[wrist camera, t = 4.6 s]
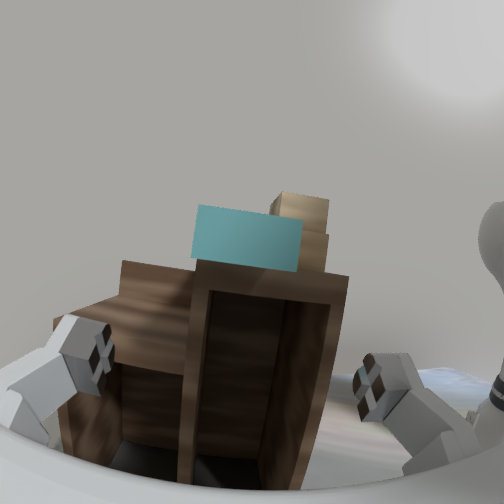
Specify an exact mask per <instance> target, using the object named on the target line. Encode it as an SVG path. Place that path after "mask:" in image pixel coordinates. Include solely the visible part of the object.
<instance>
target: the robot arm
mask: <svg viewBox="0 0 504 504" xmlns="http://www.w3.org/2000/svg"><path fill="white" fill-rule="evenodd" d="M478 240H479V241H478V242H479V250H480V254H481V257H482V260H483V262H484V264H485V266H486V267H487V269H488V270H489V271H490V272H491V273H492V274H493V276H494V277H495V278H496V280H497V281H498V283H499V284H500V286H501V288H502V291H503V293H504V202H496V203H494V204H493V205H492V206H491V207H490V208H489V209H488V210H487V212H486V213H485V215H484V217H483V219H482V222H481V224H480V229H479V237H478ZM111 334H112V330H111V326H110V325H109V324H107V323H103V322H99V321H95V320H91V319H87V318H84V317H79V316H75V315H71V314H66V315H64V316H63V318H62V319H61V321H60V322H59V324H58V326H57V327H56V329H55V330H54V332H53V334H52V335H51V337H50V339H49V340H48V342H47V344H46V345H45V347H44V348H42V347H40V348H38V349H36V350H34V351H32V352H30V353H29V354H27V355H25V356H23V357H21V358H20V359H18V360H16V361H14V362H12V363H11V364H9V365H7V366H6V367H4V368H2V369H0V504H504V359H503V364H502V368H501V371H500V374H499V375H498V376H497V377H496V380H495V381H494V383H493V385H492V389H491V392H490V394H489V397H488V398H487V399H486V400H485V401H483V402H482V403H481V404H479V406H478V408H477V411H476V412H474V411H468V414H467V417H466V419H465V418H463V417H462V416H461V415H460V414H459V413H457V412H456V411H455V410H454V409H452V408H451V407H450V406H449V405H448V404H446V403H445V402H444V401H443V400H442V399H440V398H439V397H438V396H437V395H436V394H434V393H433V392H432V391H431V390H430V389H428V388H424V386H423V383H422V381H421V379H420V377H419V374H418V372H417V370H416V368H415V366H414V363H413V361H412V359H411V357H410V355H409V354H408V353H369V354H367V355H366V356H365V358H364V359H363V363H364V366H362V367H361V368H359V369H358V370H357V371H356V373H355V375H354V379H353V392H354V396H355V397H356V398H358V399H359V400H360V402H359V404H358V406H357V407H358V411H359V415H360V419H361V422H372V421H383V423H384V424H385V426H386V427H387V428H388V429H389V430H390V431H391V433H392V434H393V435H394V436H395V437H396V438H397V439H398V441H399V442H400V443H401V444H402V445H403V446H404V448H405V449H406V450H407V451H408V452H409V453H410V455H411V456H412V457H413V458H411V459H410V460H409V461H408V462H406V463H405V464H404V465H403V467H402V470H403V474H404V476H402V477H398V478H393V479H388V480H383V481H377V482H371V483H365V484H358V485H351V486H343V487H333V488H322V489H307V490H240V489H225V488H214V487H205V486H196V485H189V484H182V483H176V482H170V481H164V480H159V479H153V478H149V477H144V476H139V475H135V474H131V473H127V472H123V471H119V470H115V469H112V468H108V467H105V466H101V465H98V464H95V463H91V462H88V461H85V460H82V459H79V458H76V457H73V456H71V455H68V454H65V453H63V452H60V451H57V450H55V449H52V448H50V447H47V445H48V442H49V439H50V436H49V434H48V432H47V431H46V430H45V428H44V427H43V426H42V425H41V422H42V421H43V420H44V419H46V418H47V417H48V416H49V415H50V414H52V413H53V412H54V411H55V410H56V409H58V408H59V407H60V406H61V405H63V404H64V403H65V402H66V401H67V400H69V399H70V398H71V397H72V396H73V395H75V394H76V393H77V391H80V392H84V393H88V394H91V395H95V396H100V397H101V395H102V393H103V390H104V387H105V385H106V382H107V379H106V376H105V374H106V373H107V372H109V371H110V370H111V369H112V366H113V363H114V358H115V346H114V342H113V341H112V340H111V339H110V336H111Z"/></svg>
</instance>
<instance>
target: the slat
mask: <svg viewBox="0 0 504 504" xmlns="http://www.w3.org/2000/svg"><path fill="white" fill-rule="evenodd" d="M302 228H303V220H299V219H293V218H287V217H280V216H274V215H268V214H261V213H255V212H248V211H241V210H234V209H227V208H220V207H213V206H205V205H199V206H198V212H197V219H196V225H195V232H194V239H193V245H192V252H191V258H197V259H204V260H211V261H218V262H225V263H232V264H239V265H246V266H253V267H261V268H268V269H275V270H283V271H290V272H297V265H298V258H299V251H300V243H301V236H302Z"/></svg>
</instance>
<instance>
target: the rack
mask: <svg viewBox="0 0 504 504" xmlns="http://www.w3.org/2000/svg"><path fill="white" fill-rule="evenodd" d="M328 207H329V200H328V199H322V198H317V197H312V196H306V195H300V194H295V193H289V192H283V191H282V192H281V194H280V195H279V196H278V197H277V198H276V199H275V200H274V202H273V203H272V204H271V205H270V212H269V215H274V216H280V217H287V218H293V219H299V220H303V228H302V236H301V243H300V251H299V258H298V265H297V272H290V271H283V270H275V269H268V268H261V267H253V266H246V265H239V264H232V263H225V262H218V261H211V260H204V259H197V263H196V270H195V271H190V270H184V269H177V268H171V267H164V266H157V265H151V264H144V263H138V262H132V261H126V260H123V261H122V267H121V276H120V286H119V295H117V296H115V297H112V298H109V299H106V300H104V301H101V302H98V303H96V304H93V305H90V306H87V307H85V308H82V309H79V310H77V311H74V312H71V313H69V314H71V315H75V316H79V317H84V318H87V319H91V320H95V321H99V322H103V323H107V324H109V325H110V326H111V330H112V334H111V336H110V339H111V340H112V341H113V342H114V346H115V358H114V363H113V366H112V369H111V370H110V371H109V372H107V373H106V374H105V376H106V379H107V382H106V385H105V387H104V390H103V393H102V395H101V397H100V396H95V395H91V394H88V393H84V392H80V391H77V393H76V394H75V395H73V396H72V397H71V398H70V399H69V400H67V401H66V402H65V403H64V404H63V405H61V406H60V407H59V408H58V417H59V425H60V432H61V438H62V444H63V450H64V453H65V454H68V455H71V456H73V457H76V458H79V459H82V460H85V461H88V462H91V463H95V464H98V465H101V466H105V467H109V465H110V463H111V461H112V459H113V457H114V455H115V454H116V452H117V450H118V448H119V446H120V444H121V442H122V440H127V441H131V442H135V443H139V444H144V445H148V446H153V447H158V448H163V449H169V450H175V451H178V472H177V483H182V484H189V485H193V477H194V469H195V461H196V454H201V455H210V456H219V457H229V458H242V459H257V462H258V468H259V474H260V479H261V485H262V490H300V488H301V485H302V482H303V479H304V476H305V473H306V469H307V466H308V463H309V460H310V456H311V453H312V449H313V446H314V442H315V439H316V435H317V432H318V428H319V424H320V420H321V417H322V413H323V409H324V405H325V401H326V396H327V392H328V388H329V384H330V379H331V375H332V370H333V365H334V361H335V356H336V351H337V345H338V340H339V335H340V330H341V324H342V319H343V313H344V307H345V301H346V294H347V288H348V280H349V276H344V275H337V274H332V273H325V272H324V271H325V263H326V256H327V248H328V240H329V235H328V234H326V225H327V216H328ZM63 316H64V315H63ZM63 316H61V317H58V318H55V319H54V320H53V332H54V330H55V329H56V327H57V326H58V324H59V322H60V321H61V319H62V318H63Z"/></svg>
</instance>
